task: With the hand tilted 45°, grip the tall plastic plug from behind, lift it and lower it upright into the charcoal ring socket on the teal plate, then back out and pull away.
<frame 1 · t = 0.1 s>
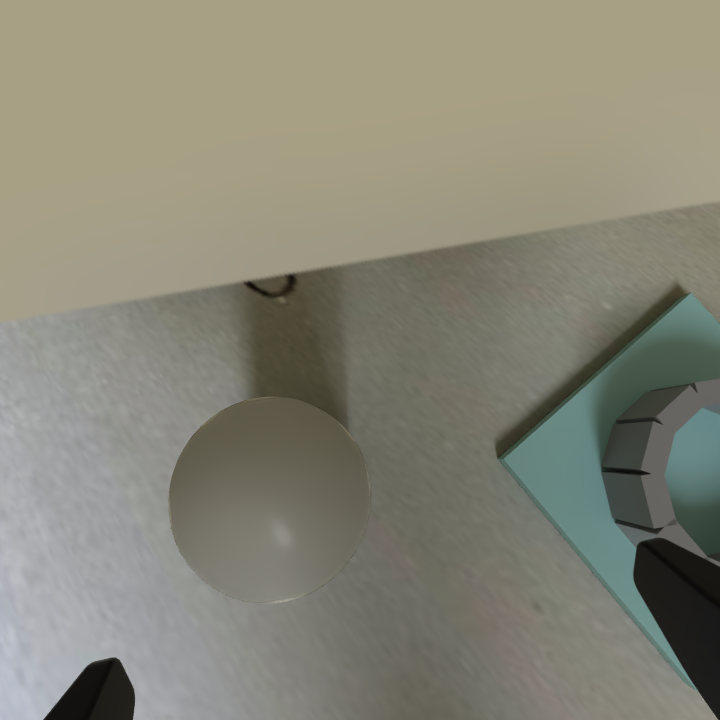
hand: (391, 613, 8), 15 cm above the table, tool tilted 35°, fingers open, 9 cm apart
plug: (303, 469, 23), on the table
socket: (682, 477, 24), on the table
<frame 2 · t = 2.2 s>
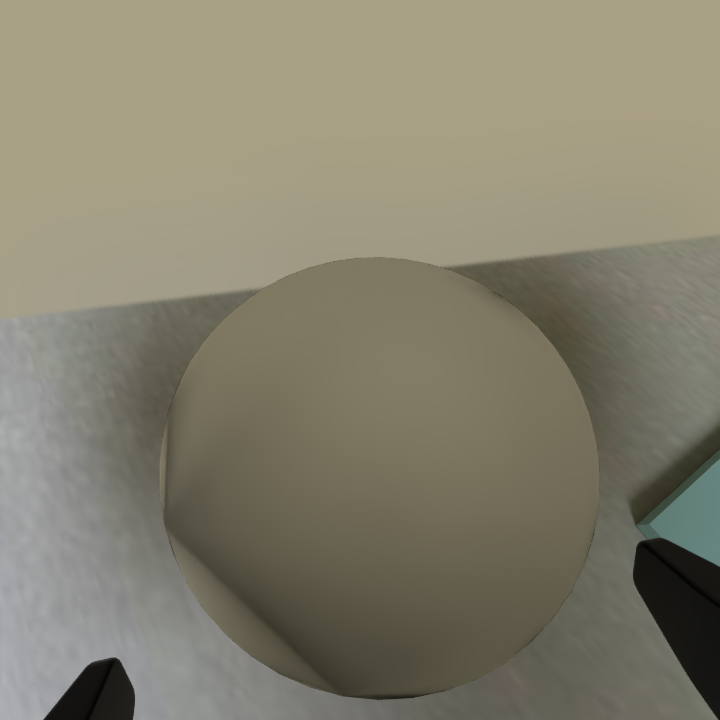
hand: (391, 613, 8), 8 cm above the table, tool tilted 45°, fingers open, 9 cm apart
plug: (361, 525, 17), on the table
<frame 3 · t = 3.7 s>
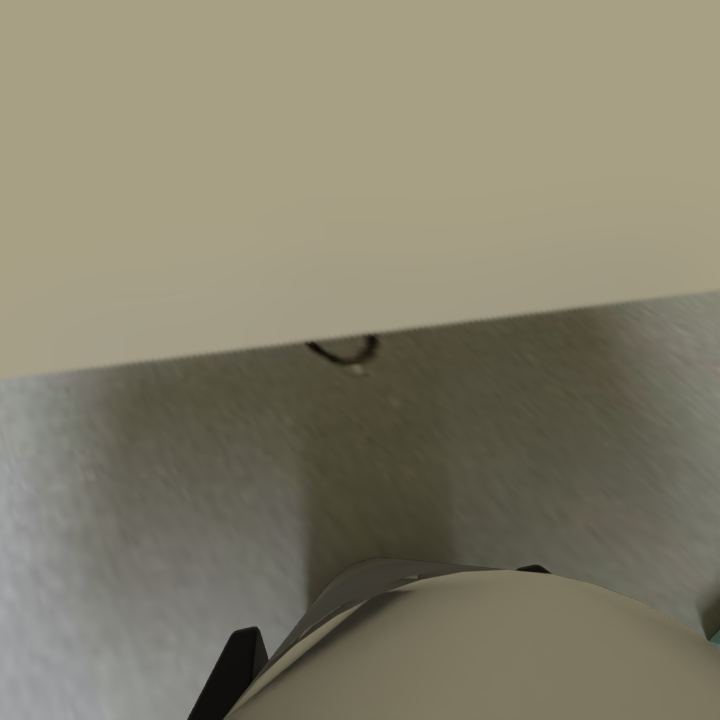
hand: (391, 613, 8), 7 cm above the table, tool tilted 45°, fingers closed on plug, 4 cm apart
plug: (384, 640, 14), on the table, touching gripper
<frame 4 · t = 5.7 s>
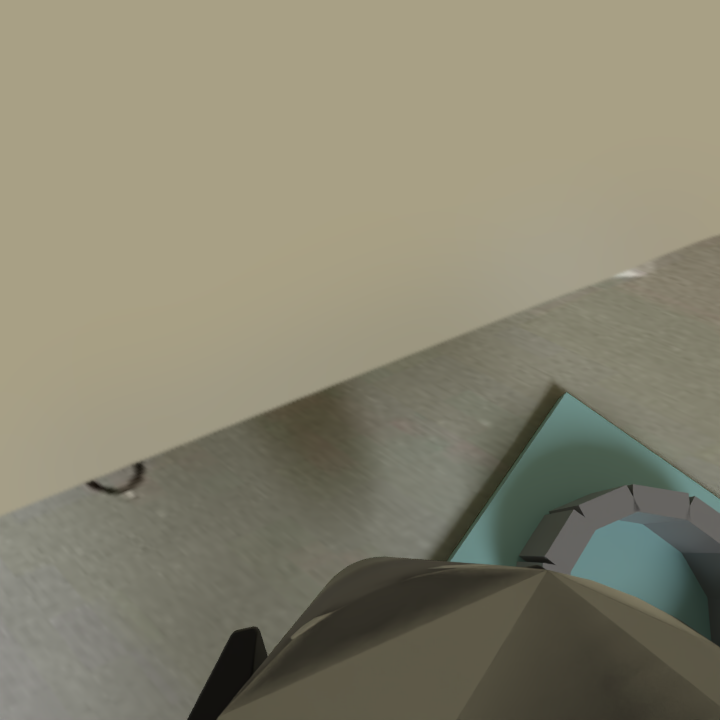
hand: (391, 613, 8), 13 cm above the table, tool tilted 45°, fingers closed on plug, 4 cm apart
plug: (383, 639, 14), point 7 cm above the table, touching gripper
socket: (614, 605, 21), on the table
when the fingers open (9 cm above the table, at t = 8.2 s): plug drops 1 cm, resting on socket.
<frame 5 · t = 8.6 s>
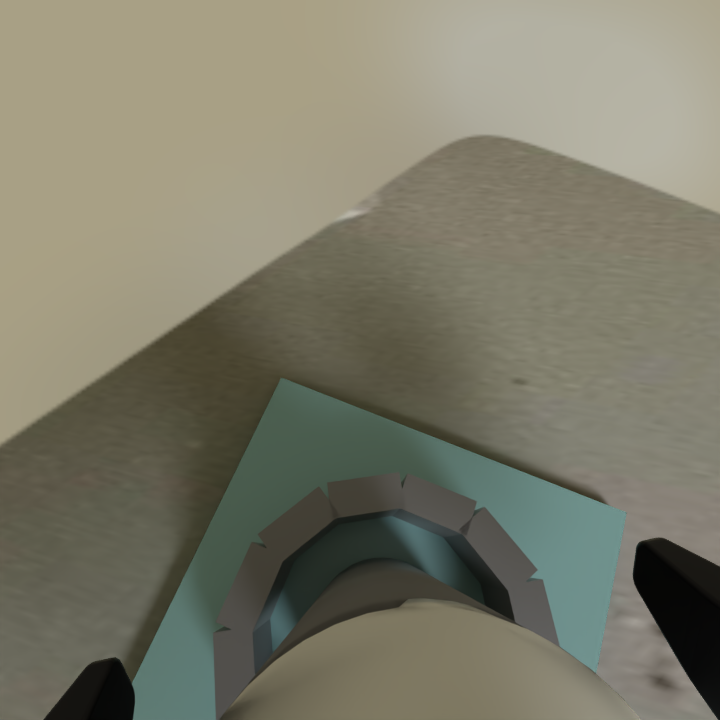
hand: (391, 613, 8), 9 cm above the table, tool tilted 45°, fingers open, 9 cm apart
plug: (382, 633, 15), point 1 cm above the table, touching socket
socket: (380, 629, 16), on the table
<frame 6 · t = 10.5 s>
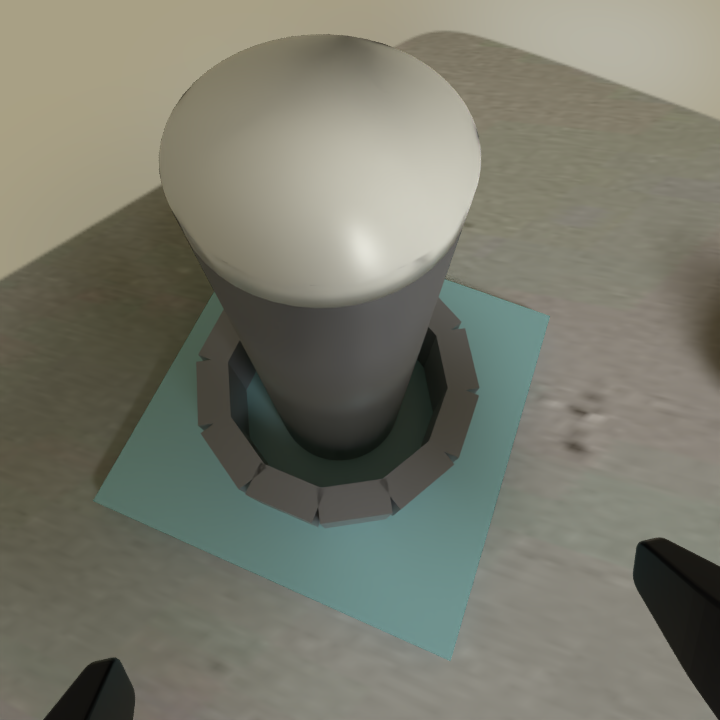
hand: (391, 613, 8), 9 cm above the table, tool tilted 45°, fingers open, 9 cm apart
plug: (339, 401, 18), point 1 cm above the table, touching socket
socket: (339, 407, 19), on the table
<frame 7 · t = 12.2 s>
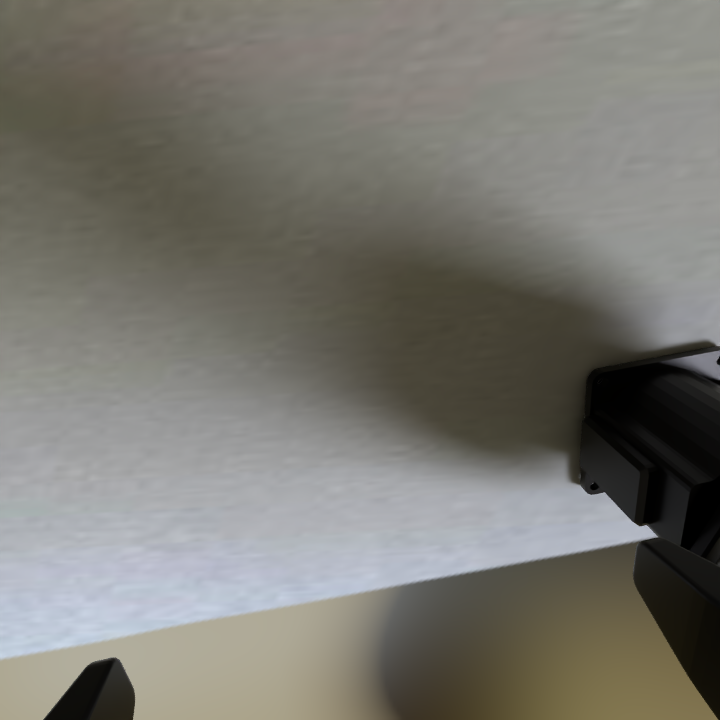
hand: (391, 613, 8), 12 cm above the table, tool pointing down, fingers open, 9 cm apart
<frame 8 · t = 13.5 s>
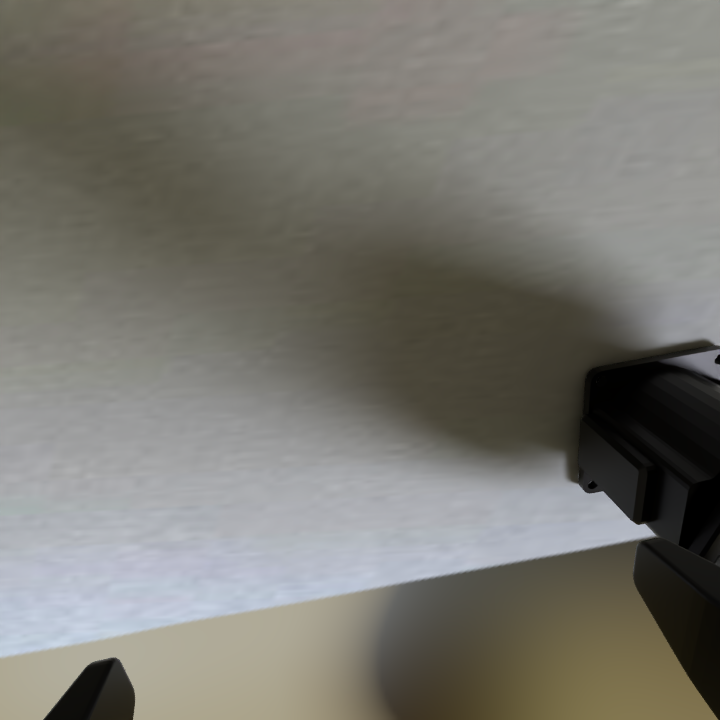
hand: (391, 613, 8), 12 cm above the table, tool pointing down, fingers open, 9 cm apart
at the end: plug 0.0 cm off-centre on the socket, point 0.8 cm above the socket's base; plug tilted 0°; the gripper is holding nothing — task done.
